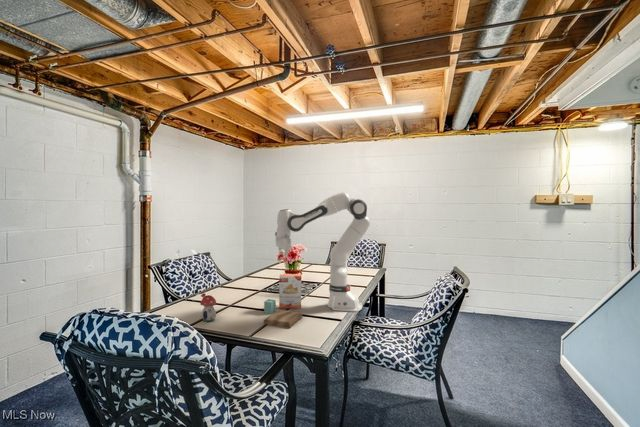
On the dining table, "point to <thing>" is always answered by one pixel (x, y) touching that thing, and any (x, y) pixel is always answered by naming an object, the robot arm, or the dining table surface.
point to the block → (269, 306)
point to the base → (283, 318)
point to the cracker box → (290, 291)
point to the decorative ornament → (208, 308)
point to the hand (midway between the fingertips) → (283, 255)
